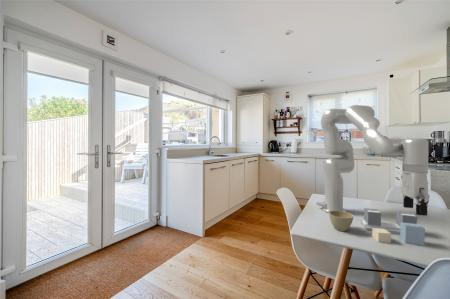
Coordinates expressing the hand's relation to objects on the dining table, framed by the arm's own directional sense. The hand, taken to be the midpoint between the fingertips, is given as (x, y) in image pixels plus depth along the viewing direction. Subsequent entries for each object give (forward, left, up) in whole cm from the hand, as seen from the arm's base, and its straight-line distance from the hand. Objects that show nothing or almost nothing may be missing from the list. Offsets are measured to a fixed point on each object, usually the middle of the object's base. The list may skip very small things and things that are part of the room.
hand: (414, 211), depth 81 cm
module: (0, 0, -13) cm, 13 cm away
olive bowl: (-25, +4, -13) cm, 29 cm away
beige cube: (-11, -2, -13) cm, 17 cm away
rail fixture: (-4, +11, -13) cm, 18 cm away
